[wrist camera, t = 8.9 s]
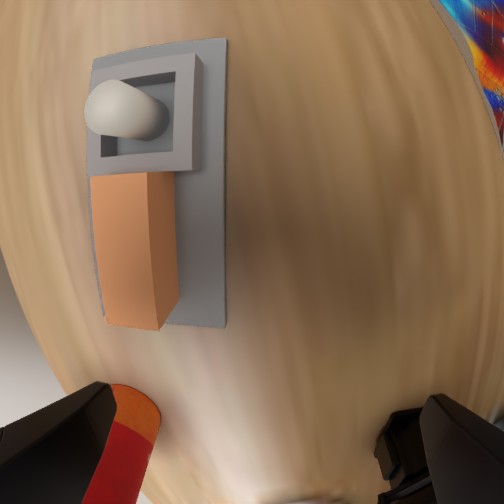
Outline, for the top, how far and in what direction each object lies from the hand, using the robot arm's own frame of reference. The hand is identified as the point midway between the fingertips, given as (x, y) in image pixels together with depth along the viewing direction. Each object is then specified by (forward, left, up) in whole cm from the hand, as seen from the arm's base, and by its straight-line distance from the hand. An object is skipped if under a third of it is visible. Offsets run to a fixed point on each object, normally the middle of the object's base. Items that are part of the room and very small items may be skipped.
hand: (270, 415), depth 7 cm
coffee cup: (+12, +14, -12) cm, 22 cm away
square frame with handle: (+7, -5, -11) cm, 14 cm away
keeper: (+8, -5, -12) cm, 15 cm away
